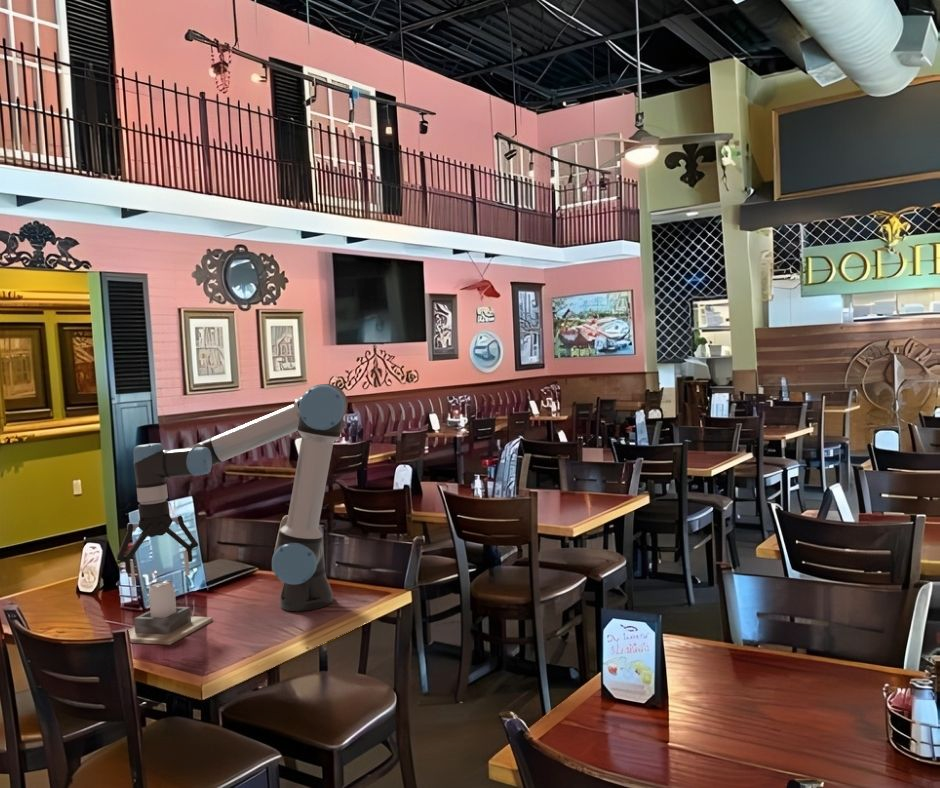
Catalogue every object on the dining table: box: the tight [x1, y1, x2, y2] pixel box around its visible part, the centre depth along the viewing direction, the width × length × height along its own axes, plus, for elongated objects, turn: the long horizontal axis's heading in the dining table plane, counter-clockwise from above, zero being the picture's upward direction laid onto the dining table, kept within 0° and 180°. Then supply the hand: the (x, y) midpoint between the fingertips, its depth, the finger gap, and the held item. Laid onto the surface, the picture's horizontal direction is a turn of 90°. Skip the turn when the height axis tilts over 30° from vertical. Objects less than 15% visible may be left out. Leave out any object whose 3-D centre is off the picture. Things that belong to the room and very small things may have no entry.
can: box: [148, 579, 177, 618], centre depth 207 cm, size 6×6×12 cm
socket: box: [127, 606, 214, 645], centre depth 207 cm, size 18×18×5 cm
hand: (161, 579), depth 207 cm, fingers open, 13 cm apart
